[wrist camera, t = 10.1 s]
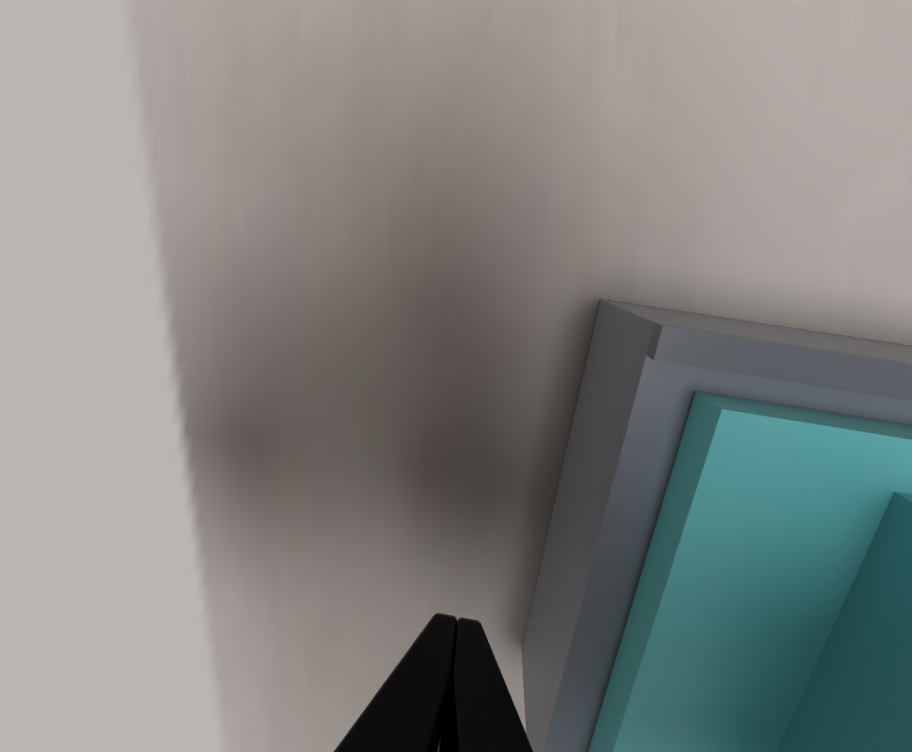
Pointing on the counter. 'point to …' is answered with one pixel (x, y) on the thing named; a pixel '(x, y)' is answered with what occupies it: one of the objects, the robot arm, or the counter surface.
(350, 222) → the counter surface
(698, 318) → the housing
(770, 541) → the lid
